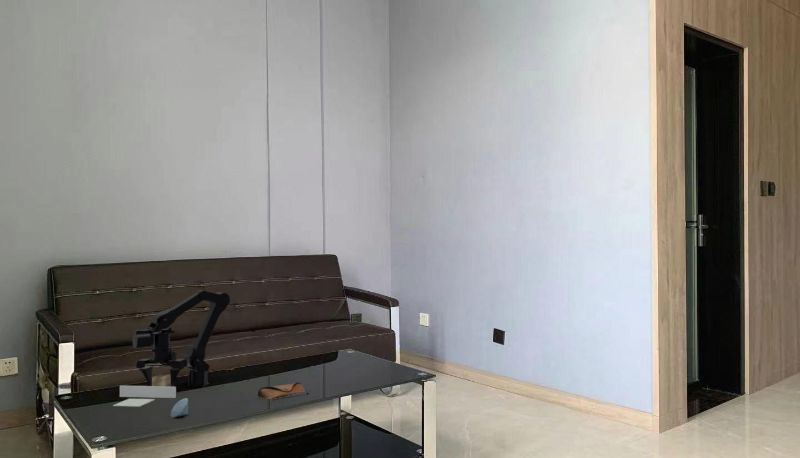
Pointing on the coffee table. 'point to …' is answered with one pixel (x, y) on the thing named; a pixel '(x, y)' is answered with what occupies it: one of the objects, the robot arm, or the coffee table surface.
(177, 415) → the gemstone
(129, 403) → the pad
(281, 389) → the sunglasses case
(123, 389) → the frosted wall
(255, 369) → the coffee table surface
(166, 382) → the maple block
